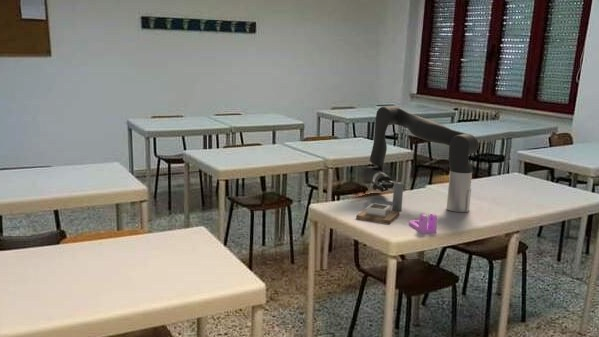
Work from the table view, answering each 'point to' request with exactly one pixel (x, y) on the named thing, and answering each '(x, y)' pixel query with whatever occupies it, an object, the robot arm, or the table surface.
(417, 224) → the bracket
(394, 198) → the peg
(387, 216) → the socket board
